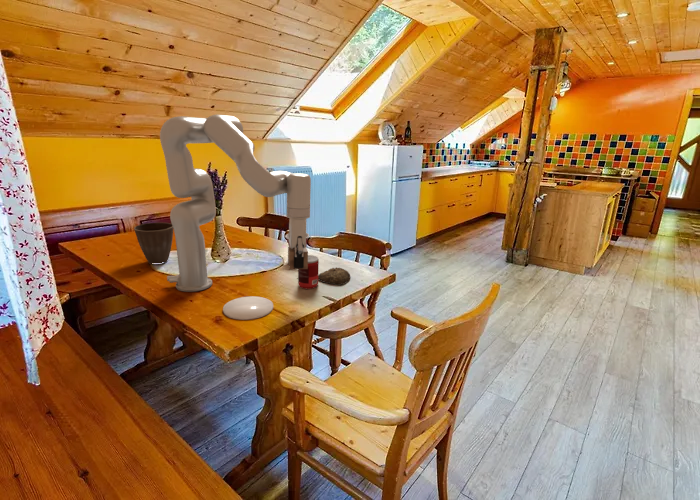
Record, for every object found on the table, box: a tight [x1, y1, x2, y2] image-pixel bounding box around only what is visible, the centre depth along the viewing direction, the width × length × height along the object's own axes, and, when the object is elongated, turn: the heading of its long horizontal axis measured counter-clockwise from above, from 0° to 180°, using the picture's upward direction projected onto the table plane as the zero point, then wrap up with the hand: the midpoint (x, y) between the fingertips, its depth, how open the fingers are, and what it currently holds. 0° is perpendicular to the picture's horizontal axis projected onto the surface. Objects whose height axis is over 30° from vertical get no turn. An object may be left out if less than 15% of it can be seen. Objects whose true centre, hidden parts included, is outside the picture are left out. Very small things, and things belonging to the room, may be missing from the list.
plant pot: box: [133, 222, 174, 265], centre depth 164 cm, size 15×15×16 cm
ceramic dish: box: [222, 295, 274, 321], centre depth 126 cm, size 16×16×1 cm
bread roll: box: [318, 267, 351, 286], centre depth 154 cm, size 13×12×5 cm
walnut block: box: [287, 246, 309, 270], centre depth 128 cm, size 6×6×6 cm
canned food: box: [297, 254, 320, 290], centre depth 145 cm, size 8×8×11 cm
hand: (297, 264), depth 129 cm, fingers closed on walnut block, 6 cm apart
